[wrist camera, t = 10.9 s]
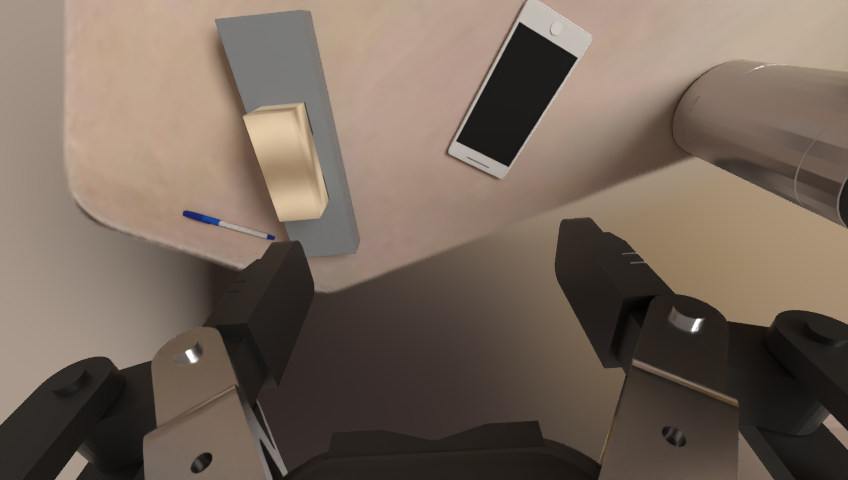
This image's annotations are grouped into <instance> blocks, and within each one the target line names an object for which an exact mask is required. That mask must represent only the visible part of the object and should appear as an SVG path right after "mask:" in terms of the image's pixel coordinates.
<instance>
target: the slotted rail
mask: <svg viewBox="0 0 848 480" xmlns="http://www.w3.org/2000/svg"><path fill="white" fill-rule="evenodd" d="M215 22H216V25H217V28H218V31H219V34H220V37H221V40H222V43H223V46H224V49H225V52H226V55H227V58H228V61H229V63H230V66H231V69H232V72H233V75H234V78H235V81H236V84H237V87H238V90H239V93H240V96H241V99H242V102H243V105H244V108H245V110H246V113H247V114H248V113H250V112H252V111H254V110H256V109H258V108H259V107H261V106H272V105H282V104H292V103H302V102H305V104H306V108H307V112H308V116H309V120H310V124H311V128H310V129H311V132H312V136H313V140H314V144H315V148H316V152H317V156H318V160H319V164H320V168H321V171H322V174H323V175H324V179H325V183H326V187H327V190H326V191H327V195H328V199H329V202H328V203H327V205H326V207H325V209H324V211H323V213H322V215H321V217H320V218H317V219H306V220H294V221H283V222H284V225H285V228H286V231H287V234H288V237H289V240H290V241H294V240H298V241H299V242H300V243H301V244H302V247H303V250H304V253H305V256H306V257H319V256H332V255H345V254H356V252H357V248H358V245H359V241H360V239H359V234H358V229H357V225H356V220H355V216H354V211H353V206H352V202H351V197H350V193H349V188H348V183H347V179H346V174H345V169H344V165H343V160H342V156H341V151H340V146H339V142H338V137H337V133H336V128H335V123H334V119H333V114H332V110H331V105H330V100H329V96H328V91H327V86H326V82H325V77H324V73H323V68H322V63H321V59H320V54H319V50H318V45H317V40H316V36H315V31H314V27H313V22H312V17H311V13H310V11H304V10H296V11H287V12H278V13H268V14H259V15H250V16H240V17H231V18H222V19H215Z"/></svg>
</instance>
